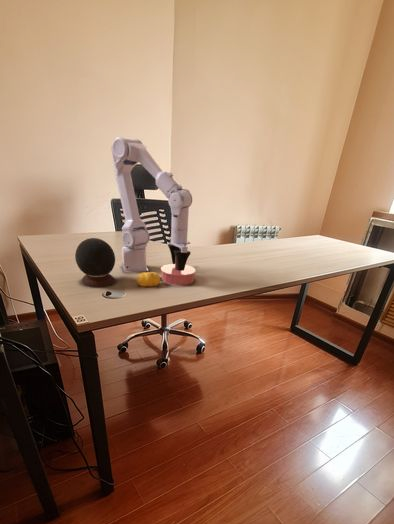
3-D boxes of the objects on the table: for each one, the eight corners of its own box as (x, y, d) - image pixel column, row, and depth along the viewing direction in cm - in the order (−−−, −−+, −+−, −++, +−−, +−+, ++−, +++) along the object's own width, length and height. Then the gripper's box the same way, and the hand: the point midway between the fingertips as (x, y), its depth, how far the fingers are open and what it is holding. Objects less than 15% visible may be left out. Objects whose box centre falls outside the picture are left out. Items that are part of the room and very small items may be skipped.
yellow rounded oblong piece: (138, 289, 106) (137, 276, 103) (136, 283, 110) (135, 270, 107) (163, 288, 109) (163, 275, 106) (160, 282, 113) (160, 269, 110)
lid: (165, 278, 107) (165, 261, 104) (157, 267, 117) (157, 251, 114) (199, 277, 111) (201, 260, 108) (189, 266, 121) (190, 250, 118)
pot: (165, 287, 109) (166, 276, 107) (158, 275, 119) (158, 265, 117) (197, 285, 113) (198, 275, 111) (188, 274, 123) (188, 264, 121)
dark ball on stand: (119, 286, 107) (116, 243, 99) (79, 289, 102) (72, 243, 94) (114, 274, 117) (111, 233, 109) (78, 276, 113) (72, 234, 105)
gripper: (196, 233, 101) (194, 272, 109) (184, 224, 113) (183, 260, 120) (176, 233, 99) (175, 273, 107) (166, 224, 111) (165, 261, 118)
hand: (178, 267), depth 113 cm, fingers open, 7 cm apart
